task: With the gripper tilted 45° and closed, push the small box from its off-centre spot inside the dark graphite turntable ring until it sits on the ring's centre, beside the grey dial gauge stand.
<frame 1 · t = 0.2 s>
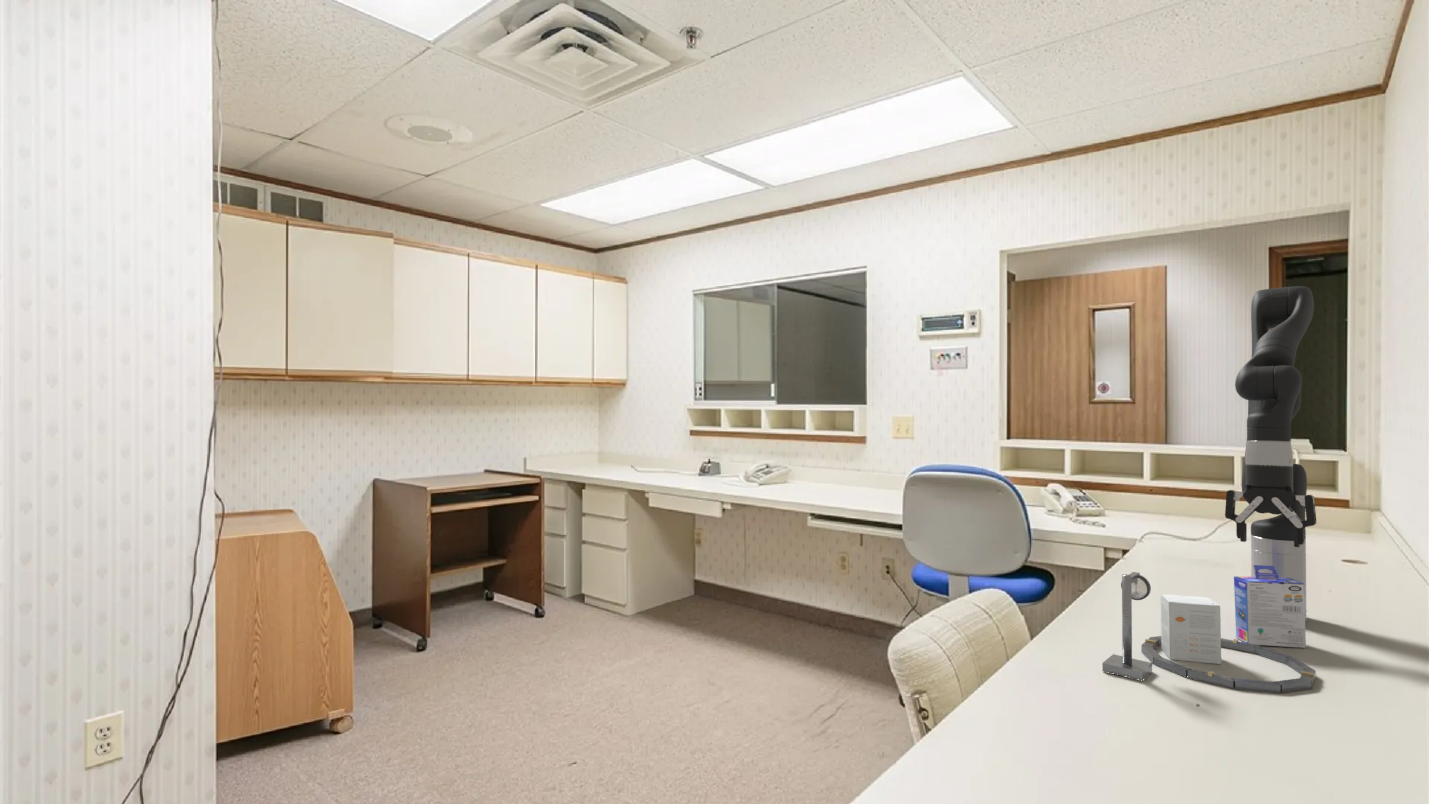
hand: (1269, 544, 139), 18 cm above the table, tool pointing down, fingers open, 8 cm apart
turntable ring: (1224, 664, 122), on the table
small box: (1190, 658, 125), resting in turntable ring
ink cartridge box: (1269, 643, 133), on the table
dial gauge stand: (1127, 671, 118), on the table
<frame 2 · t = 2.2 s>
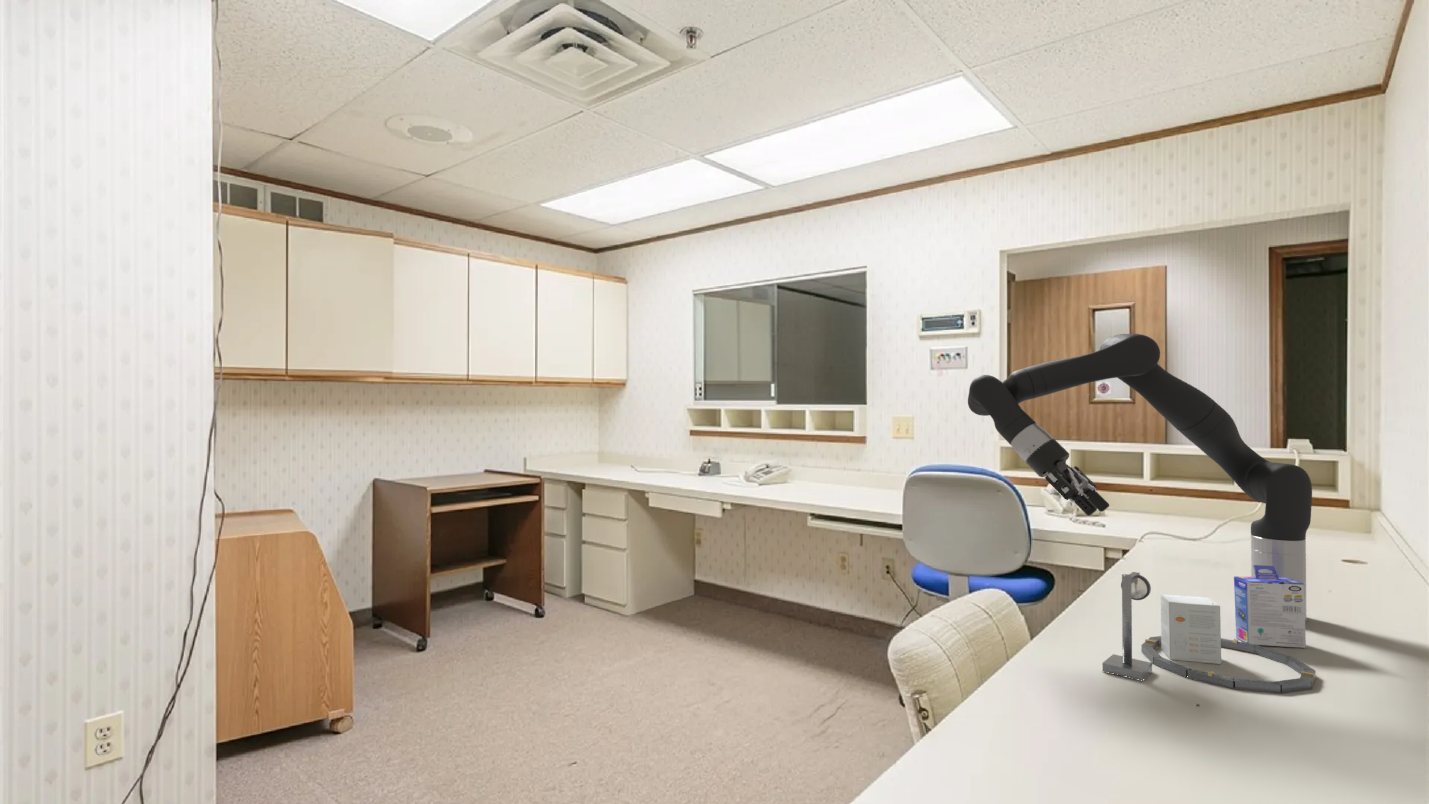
hand: (1099, 510, 138), 25 cm above the table, tool tilted 45°, fingers open, 7 cm apart
nothing on the table moved.
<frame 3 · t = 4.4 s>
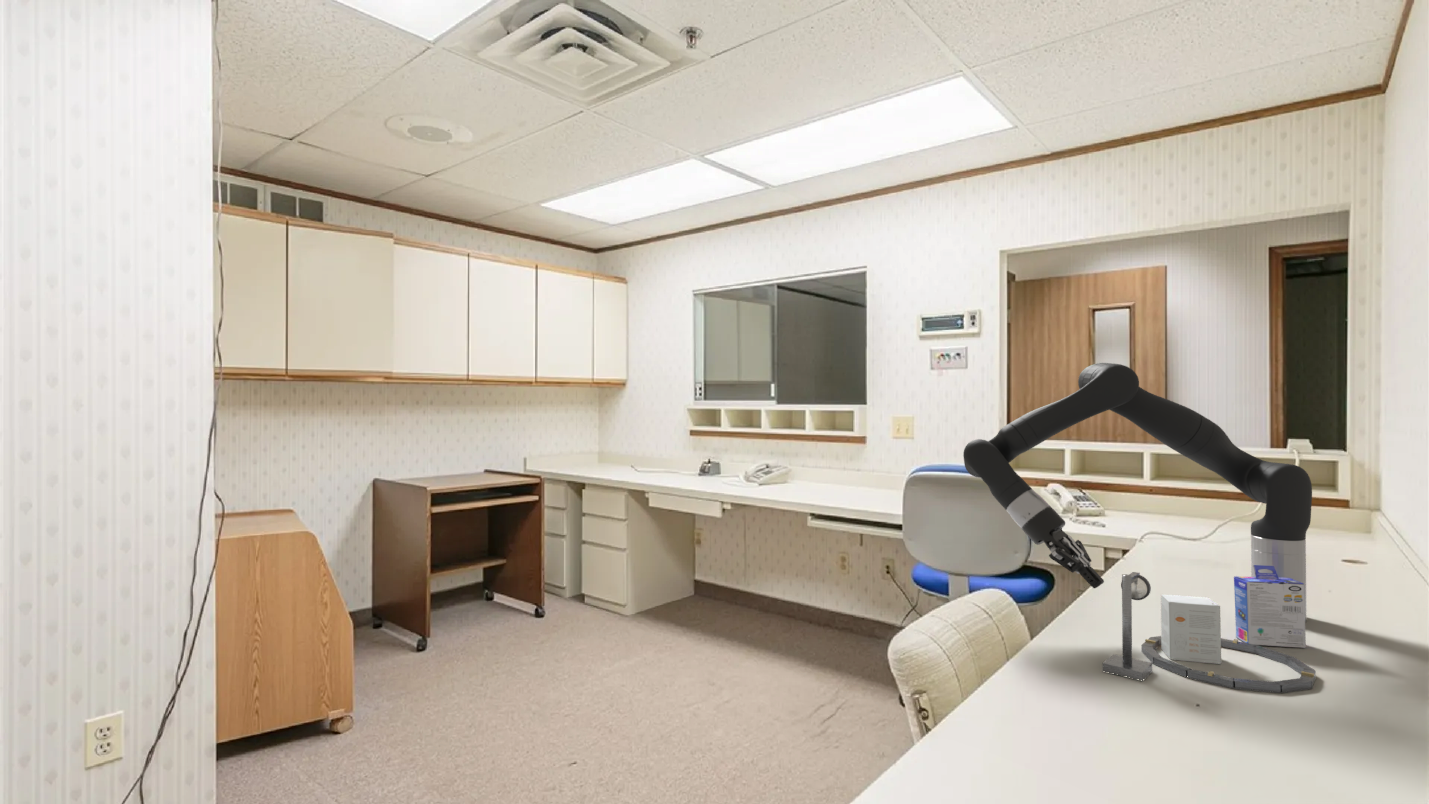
hand: (1099, 585, 136), 10 cm above the table, tool tilted 45°, fingers closed
nothing on the table moved.
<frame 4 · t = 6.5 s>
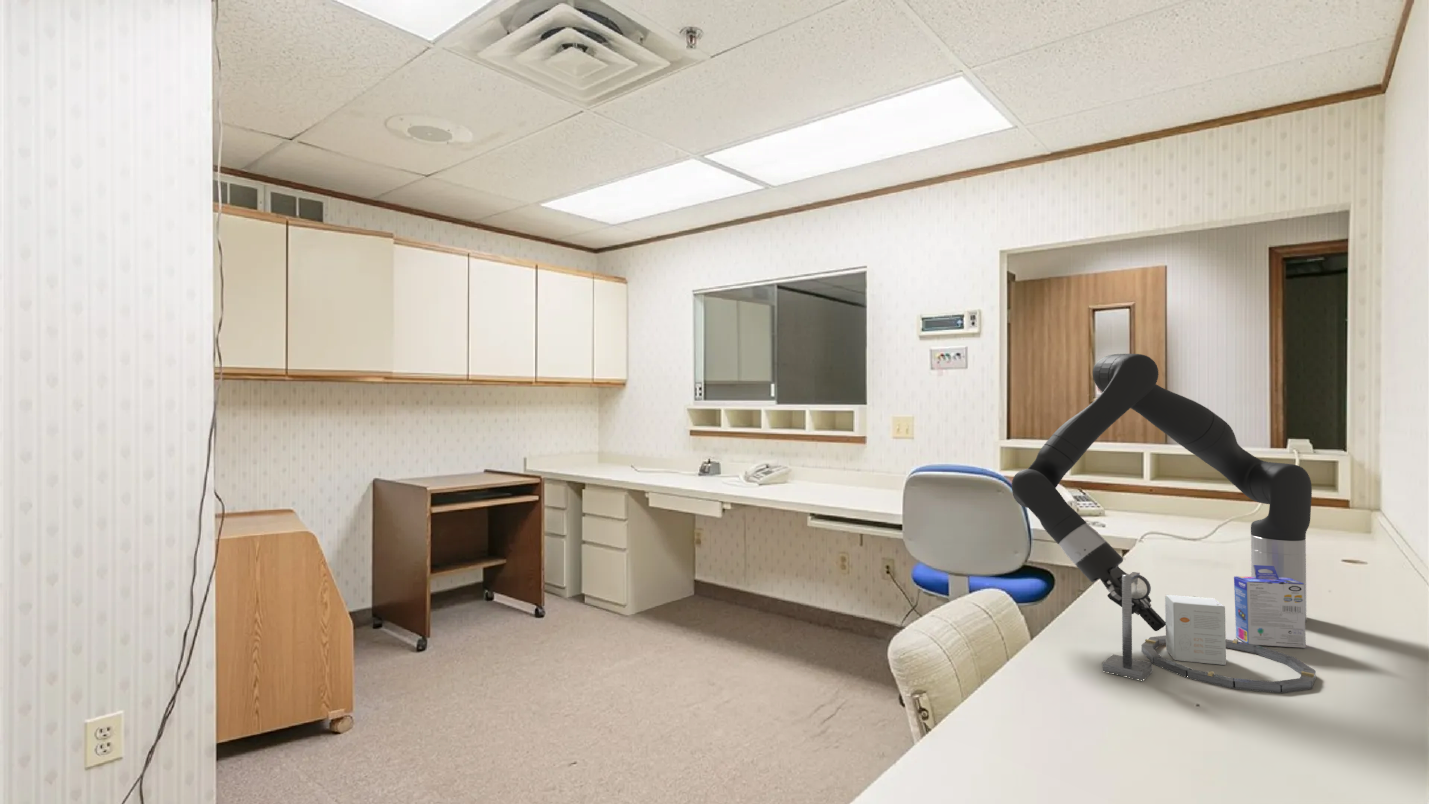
hand: (1161, 627, 129), 4 cm above the table, tool tilted 45°, fingers closed
small box: (1194, 659, 125), resting in turntable ring, touching gripper
everything else where it was.
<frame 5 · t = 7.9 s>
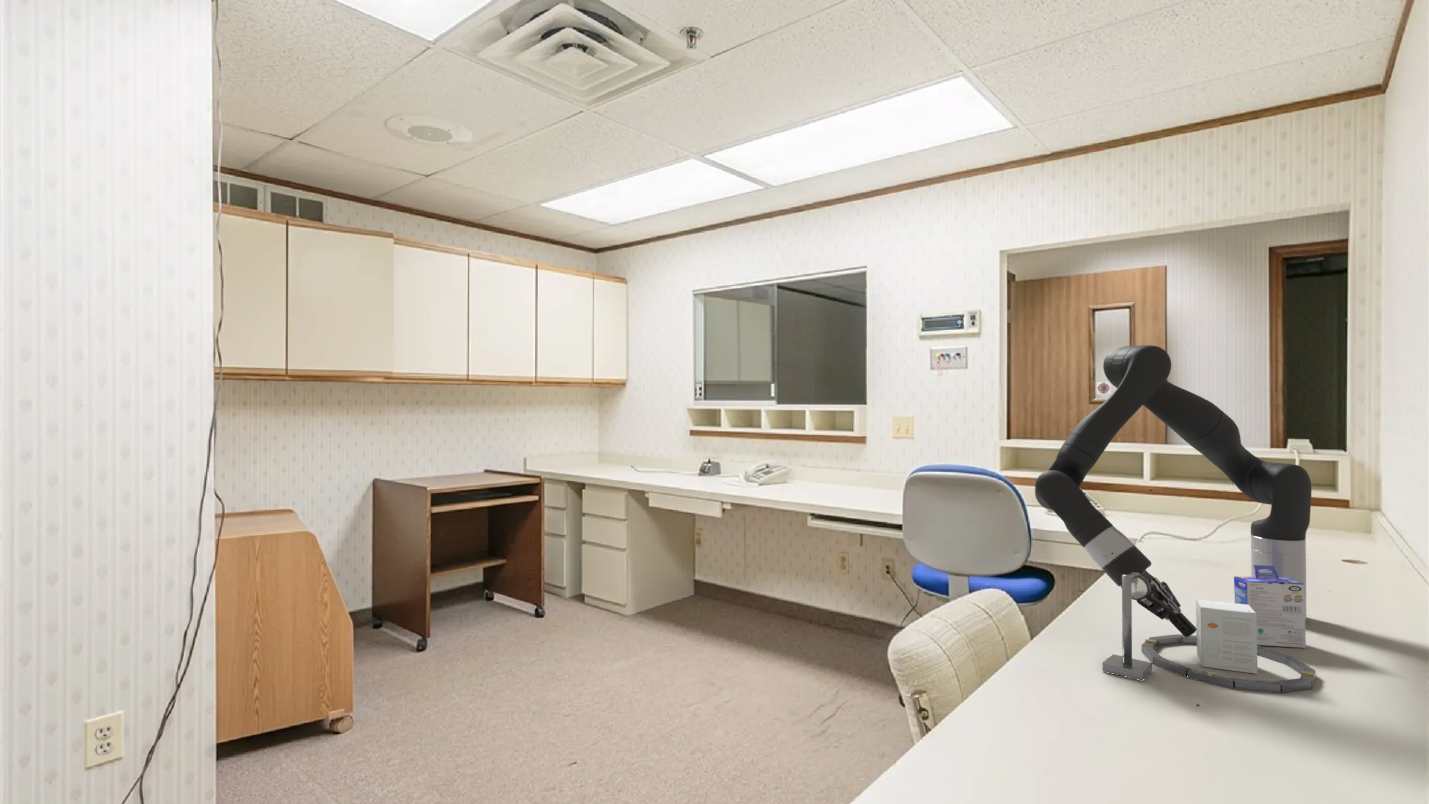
hand: (1191, 633, 125), 4 cm above the table, tool tilted 45°, fingers closed
small box: (1225, 666, 121), resting in turntable ring, touching gripper
everything else where it was.
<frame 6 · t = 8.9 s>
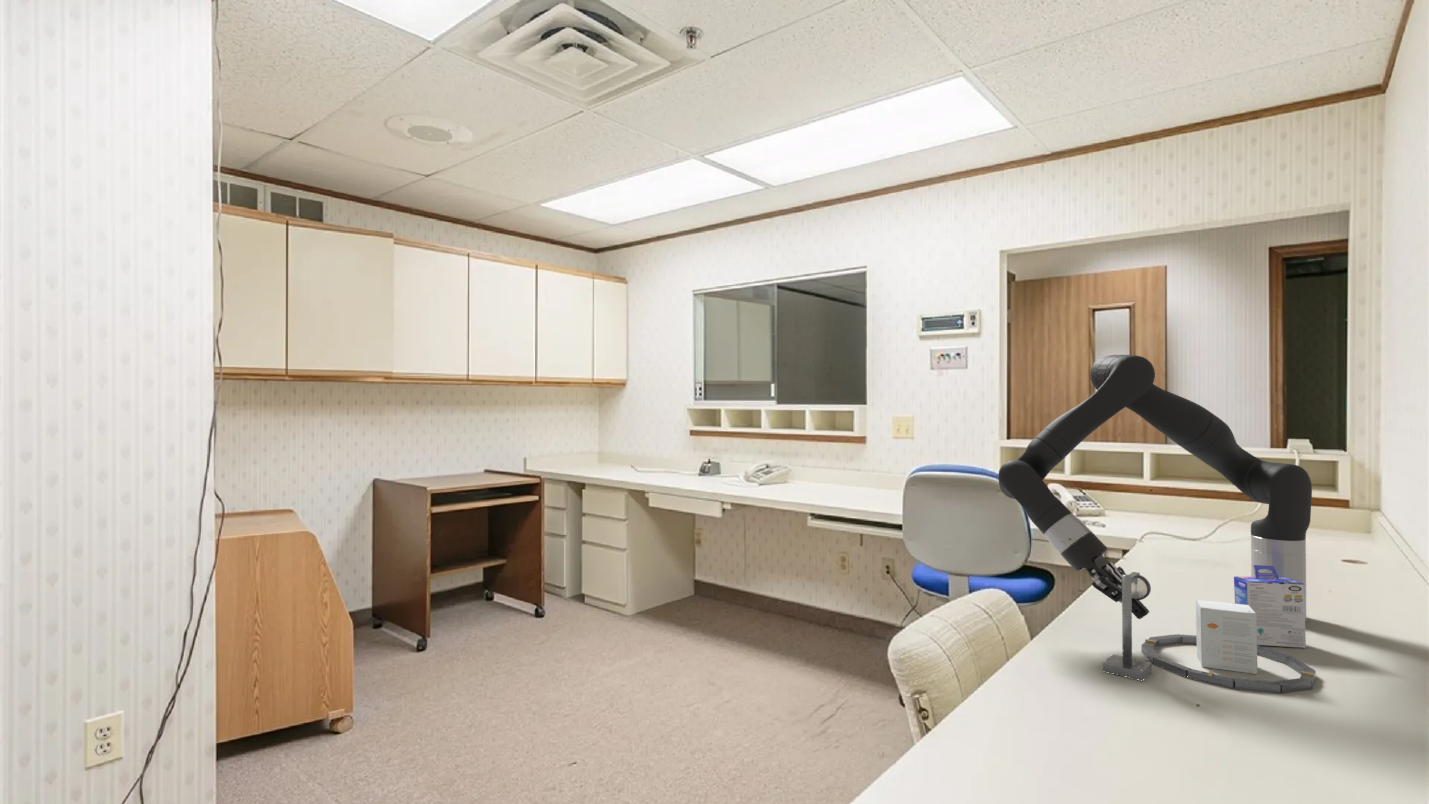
hand: (1144, 615, 130), 6 cm above the table, tool tilted 45°, fingers closed
small box: (1225, 667, 121), resting in turntable ring
everything else where it was.
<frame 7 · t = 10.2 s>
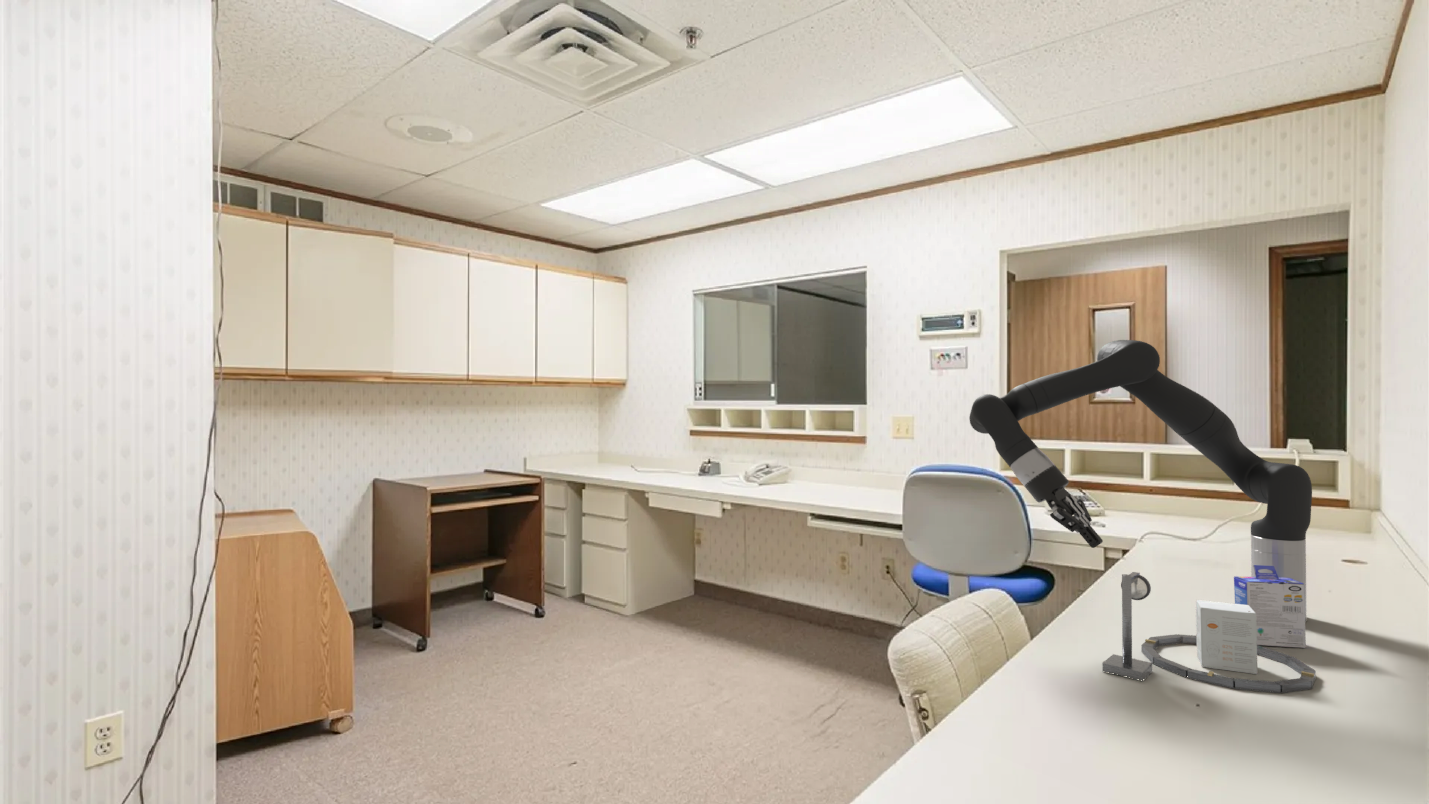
hand: (1098, 545, 137), 18 cm above the table, tool tilted 40°, fingers closed
nothing on the table moved.
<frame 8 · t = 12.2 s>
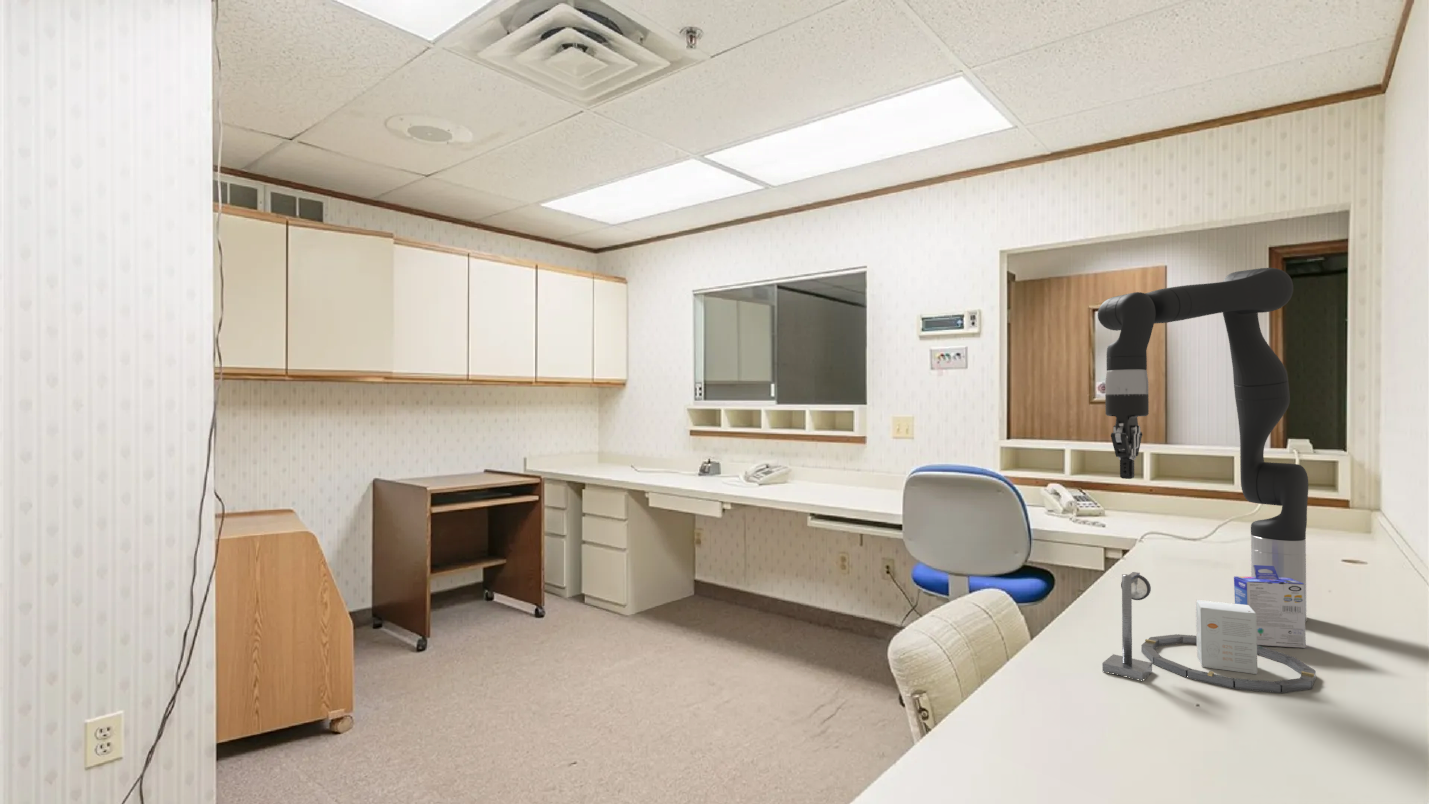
hand: (1127, 478, 140), 31 cm above the table, tool pointing down, fingers closed
nothing on the table moved.
at the end: small box 0.7 cm from the turntable ring (horizontally); small box tilted 0° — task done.
